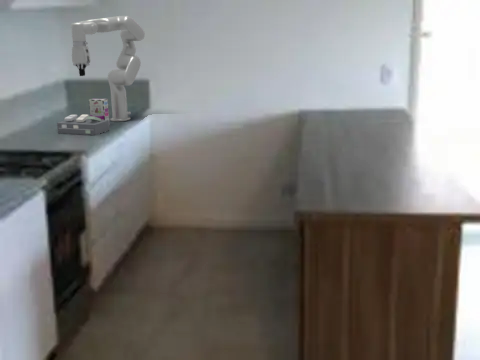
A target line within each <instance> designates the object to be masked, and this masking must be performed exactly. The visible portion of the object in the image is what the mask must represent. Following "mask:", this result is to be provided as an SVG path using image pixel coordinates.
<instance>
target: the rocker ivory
mask: <svg viewBox="0 0 480 360" xmlns="http://www.w3.org/2000/svg"><path fill="white" fill-rule="evenodd" d="M88 116H90V114H86V113H85V114H81V115H79V116H78V118H76V122H84V121H85V120H86V119H87V118H88ZM87 120H88V119H87Z"/></svg>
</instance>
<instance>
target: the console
mask: <svg viewBox="0 0 480 360" xmlns="http://www.w3.org/2000/svg"><path fill="white" fill-rule="evenodd" d="M76 119H77V118H76ZM76 119H74V120H72V121H65V120H62V121H59V122H57V123H56V124H57V125H56V126H57V133H58V134H66V135H67V134H68V135H85V136H87V135H88V136H98V135H101V134H103V132H104V133H106V132H105V131H107V132H109V131H110V126H109V120H110V119H109V120H101V122H100V121H92V120H89V119H86V120H85V121H84V122H76ZM108 130H109V131H108ZM100 133H101V134H100ZM97 134H98V135H97Z"/></svg>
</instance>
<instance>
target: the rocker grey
mask: <svg viewBox="0 0 480 360" xmlns="http://www.w3.org/2000/svg"><path fill="white" fill-rule="evenodd" d="M78 117H79V116H78V114H70V115H68V116H65V117H64V120H63V121H72V120H74V119H77V118H78Z"/></svg>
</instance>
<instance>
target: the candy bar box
mask: <svg viewBox="0 0 480 360" xmlns="http://www.w3.org/2000/svg"><path fill="white" fill-rule="evenodd" d="M88 104H89V105H88V106H89V116H95V117H98V118H100V119H101V120H109V127H110V126H111V123H110V122H111V120H110V112H109V111H110V108H109V107H110V106H109V99H108V98H90V99H88Z"/></svg>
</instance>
